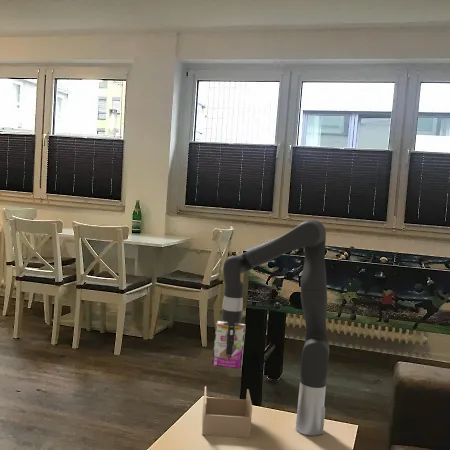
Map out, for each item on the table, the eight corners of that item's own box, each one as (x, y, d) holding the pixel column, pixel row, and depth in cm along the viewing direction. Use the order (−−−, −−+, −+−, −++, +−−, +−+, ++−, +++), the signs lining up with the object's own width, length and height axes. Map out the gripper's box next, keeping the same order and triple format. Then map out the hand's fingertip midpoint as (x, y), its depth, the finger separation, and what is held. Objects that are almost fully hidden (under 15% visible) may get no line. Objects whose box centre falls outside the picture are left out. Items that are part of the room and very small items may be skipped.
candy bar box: (211, 366, 213) (215, 323, 212) (213, 362, 218) (216, 320, 217) (241, 369, 212) (245, 326, 211) (242, 365, 217) (245, 323, 216)
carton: (246, 418, 209) (248, 389, 208) (249, 437, 192) (252, 406, 192) (202, 415, 208) (204, 386, 207) (202, 434, 192) (204, 403, 191)
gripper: (243, 313, 206) (239, 358, 207) (240, 304, 221) (237, 347, 222) (223, 311, 206) (219, 357, 207) (221, 303, 220) (218, 346, 221)
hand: (228, 351), depth 214 cm, fingers closed on candy bar box, 5 cm apart
